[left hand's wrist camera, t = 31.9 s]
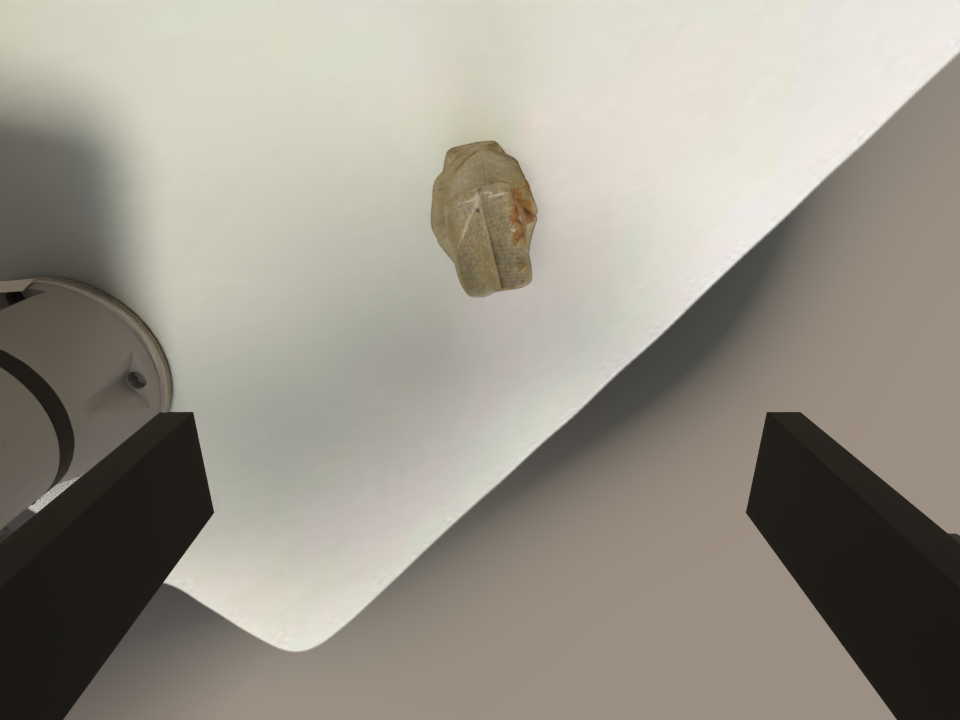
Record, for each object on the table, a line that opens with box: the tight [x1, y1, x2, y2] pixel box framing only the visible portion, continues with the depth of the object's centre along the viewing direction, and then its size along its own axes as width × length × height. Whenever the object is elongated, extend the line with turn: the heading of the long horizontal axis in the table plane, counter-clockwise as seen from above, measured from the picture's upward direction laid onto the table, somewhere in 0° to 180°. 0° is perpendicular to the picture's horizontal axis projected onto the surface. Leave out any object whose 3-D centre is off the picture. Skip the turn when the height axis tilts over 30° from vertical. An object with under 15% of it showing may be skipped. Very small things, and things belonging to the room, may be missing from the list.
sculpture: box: [431, 141, 538, 297], centre depth 31 cm, size 6×7×15 cm
